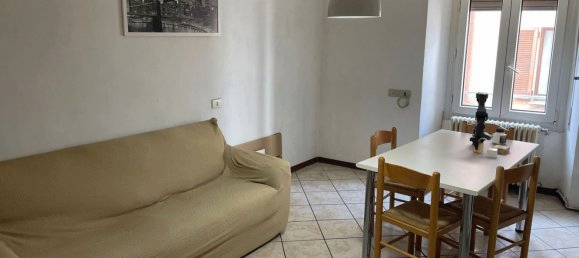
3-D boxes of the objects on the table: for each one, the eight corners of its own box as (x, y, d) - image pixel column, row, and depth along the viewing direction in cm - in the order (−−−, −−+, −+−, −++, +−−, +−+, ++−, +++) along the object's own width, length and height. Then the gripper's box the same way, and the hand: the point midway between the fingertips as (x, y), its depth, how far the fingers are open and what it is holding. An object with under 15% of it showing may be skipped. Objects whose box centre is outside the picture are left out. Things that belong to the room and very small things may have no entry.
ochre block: (473, 151, 326) (473, 143, 325) (475, 150, 330) (476, 142, 328) (480, 152, 323) (480, 144, 321) (482, 151, 326) (483, 143, 325)
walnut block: (491, 152, 325) (492, 147, 324) (496, 150, 331) (496, 144, 330) (505, 154, 319) (505, 149, 318) (509, 152, 325) (509, 146, 325)
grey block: (486, 156, 313) (487, 149, 312) (487, 154, 318) (488, 147, 317) (496, 157, 310) (496, 150, 309) (496, 155, 315) (497, 148, 314)
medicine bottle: (499, 144, 347) (500, 129, 344) (491, 142, 353) (493, 127, 351) (506, 143, 350) (507, 128, 347) (498, 141, 356) (500, 126, 354)
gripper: (486, 131, 311) (484, 154, 314) (496, 127, 324) (494, 149, 327) (470, 129, 318) (468, 151, 321) (481, 125, 331) (479, 146, 335)
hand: (478, 149), depth 326 cm, fingers closed on ochre block, 5 cm apart
